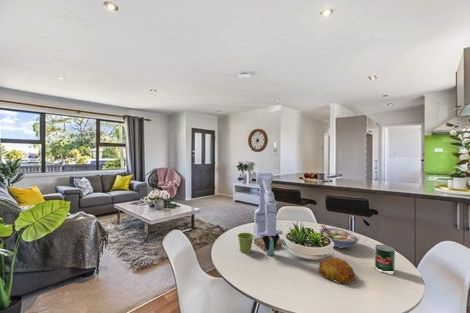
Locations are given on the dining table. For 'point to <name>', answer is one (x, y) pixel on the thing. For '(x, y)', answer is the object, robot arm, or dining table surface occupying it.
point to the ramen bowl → (340, 236)
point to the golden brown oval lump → (336, 270)
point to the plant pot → (245, 241)
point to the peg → (271, 248)
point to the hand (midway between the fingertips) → (270, 248)
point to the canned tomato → (384, 257)
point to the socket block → (261, 244)
